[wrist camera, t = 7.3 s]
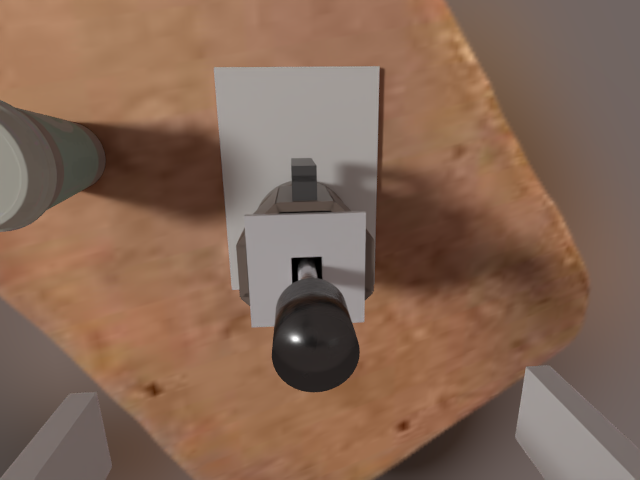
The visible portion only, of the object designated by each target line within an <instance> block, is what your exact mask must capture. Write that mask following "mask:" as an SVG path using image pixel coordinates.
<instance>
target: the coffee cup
mask: <svg viewBox="0 0 640 480" xmlns="http://www.w3.org/2000/svg"><path fill="white" fill-rule="evenodd" d="M105 162H106V159H105V152H104V149H103V146H102V144H101V142H100V141H99V139H98V138H97V137H96V135H95V134H94V133H93V132H91V131H90V130H89V129H88V128H86V127H84V126H82V125H80V124H78V123H75V122H71V121H67V120H63V119H59V118H55V117H51V116H47V115H43V114H39V113H35V112H31V111H27V110H23V109H19V108H15V107H13V106H11V105H9V104H7V103H5V102H3V101H1V100H0V232H4V231H12V230H16V229H20V228H22V227H25V226H27V225H29V224H31V223H33V222H34V221H35V220H37V219H38V218H39V217H40V216H41V215H42V214H43V213H44V212H45V211H46V210H48V209H49V208H51V207H53V206H55V205H57V204H58V203H60V202H62V201H64V200H66V199H68V198H69V197H71V196H73V195H75V194H77V193H78V192H80V191H82V190H84V189H86V188H87V187H89V186H91V185H93V184H94V183H95V182H97V181H98V180H99V178H100V177H101V175H102V174H103V171H104V168H105Z"/></svg>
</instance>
